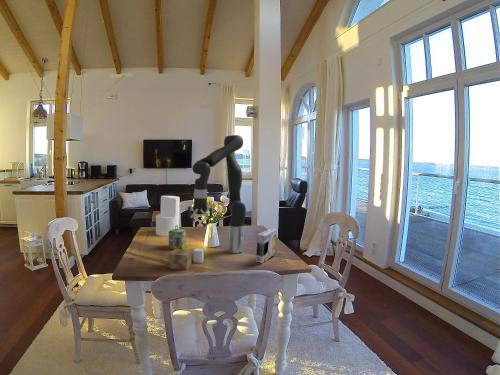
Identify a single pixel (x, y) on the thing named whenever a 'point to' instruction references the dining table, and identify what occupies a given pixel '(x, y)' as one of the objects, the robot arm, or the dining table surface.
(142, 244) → the dining table surface
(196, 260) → the block
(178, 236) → the green tin canister
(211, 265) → the dining table surface
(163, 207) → the white stepped tower
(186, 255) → the walnut box
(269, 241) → the cake pan box
